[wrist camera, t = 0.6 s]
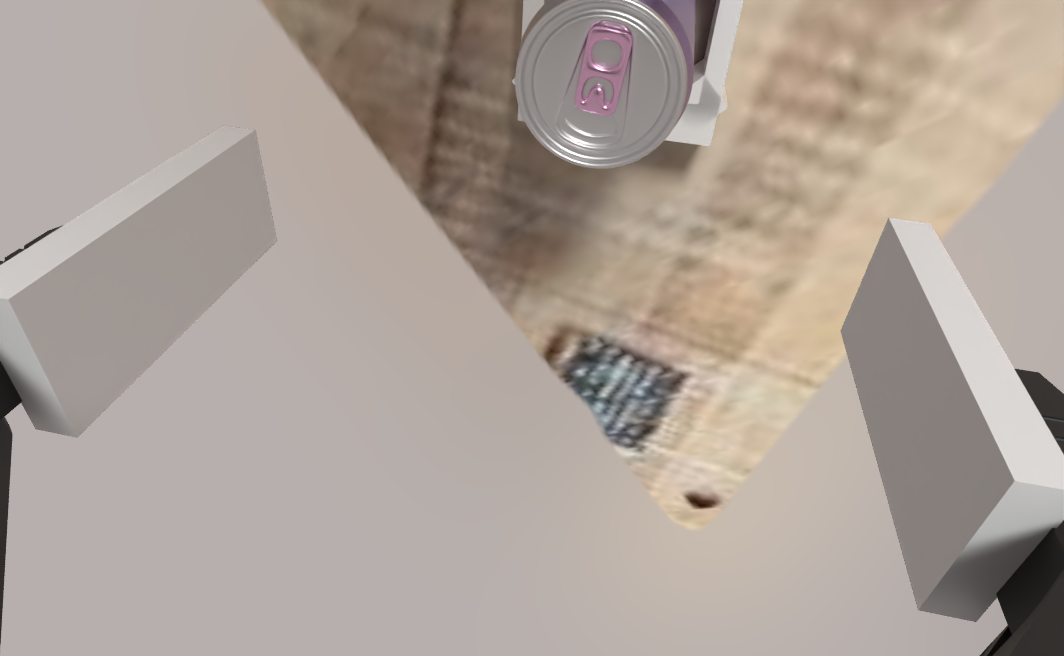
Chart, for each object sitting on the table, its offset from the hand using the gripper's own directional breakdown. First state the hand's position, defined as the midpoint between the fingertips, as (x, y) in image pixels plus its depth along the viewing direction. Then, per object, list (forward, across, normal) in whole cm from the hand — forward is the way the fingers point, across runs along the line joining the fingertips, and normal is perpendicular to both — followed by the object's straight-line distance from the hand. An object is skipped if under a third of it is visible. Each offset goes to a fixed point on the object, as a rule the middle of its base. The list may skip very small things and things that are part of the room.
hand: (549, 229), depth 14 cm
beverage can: (+25, 0, 0) cm, 25 cm away
